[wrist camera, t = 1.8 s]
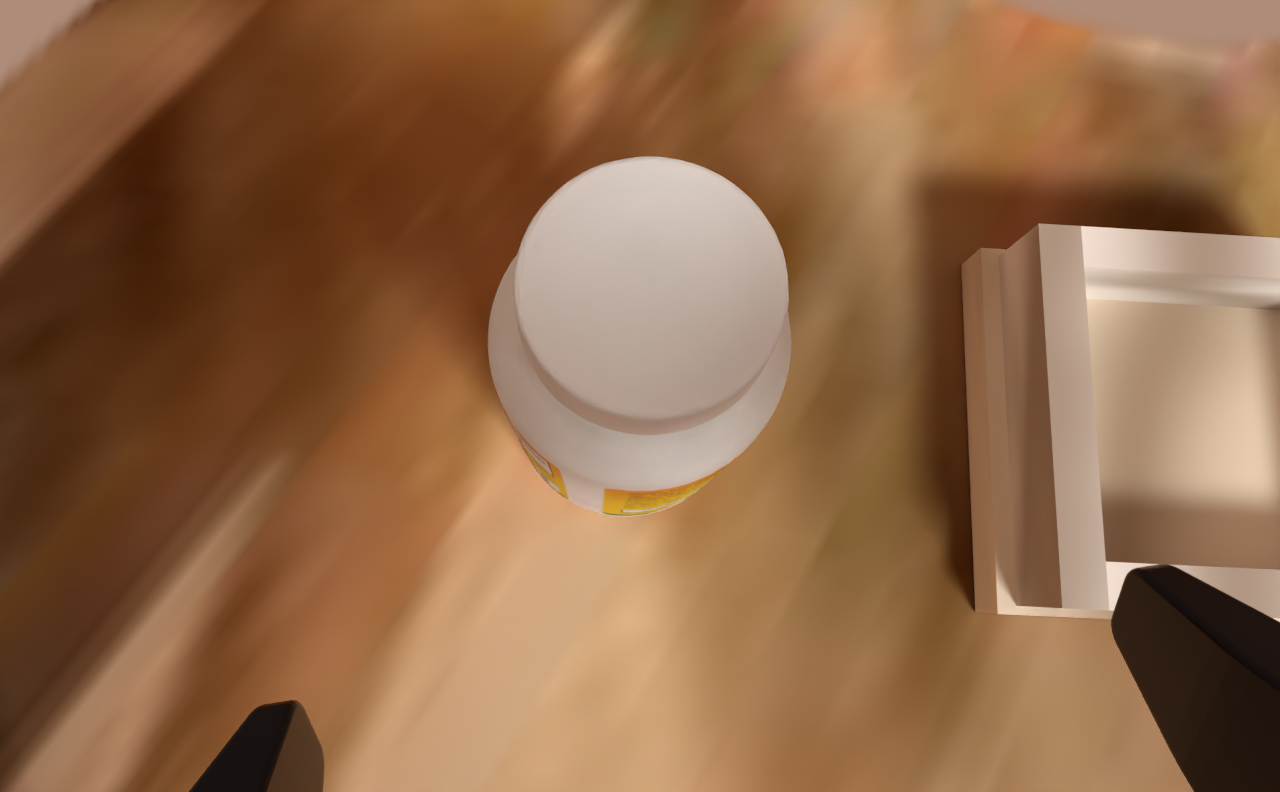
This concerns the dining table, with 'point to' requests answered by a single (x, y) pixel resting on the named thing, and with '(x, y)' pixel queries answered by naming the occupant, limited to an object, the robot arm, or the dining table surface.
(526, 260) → the supplement bottle
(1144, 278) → the candle holder
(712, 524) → the dining table surface
